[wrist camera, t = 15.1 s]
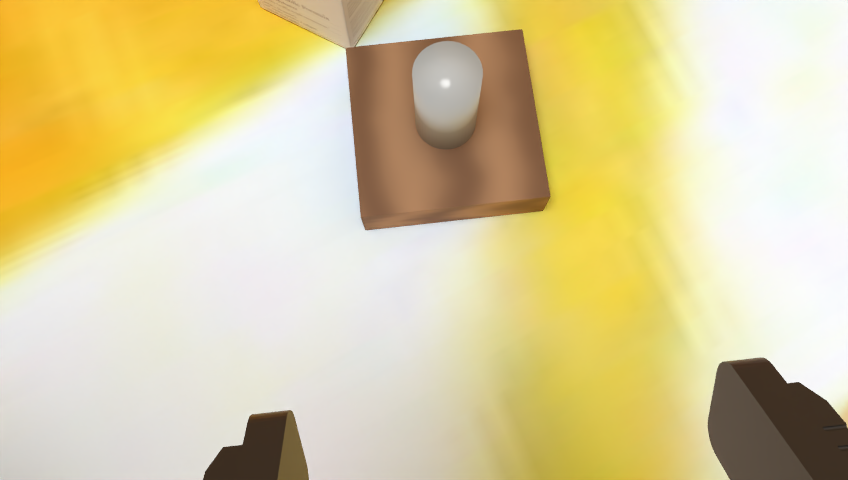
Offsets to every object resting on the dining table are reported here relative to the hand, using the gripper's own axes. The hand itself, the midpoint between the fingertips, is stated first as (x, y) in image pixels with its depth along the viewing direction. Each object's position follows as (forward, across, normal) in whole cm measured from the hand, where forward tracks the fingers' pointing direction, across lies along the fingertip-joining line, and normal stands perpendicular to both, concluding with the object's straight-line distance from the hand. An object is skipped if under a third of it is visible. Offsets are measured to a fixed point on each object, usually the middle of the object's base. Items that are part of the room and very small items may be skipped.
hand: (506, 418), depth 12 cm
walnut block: (+41, -2, +11) cm, 43 cm away
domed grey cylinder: (+39, -2, +8) cm, 40 cm away
